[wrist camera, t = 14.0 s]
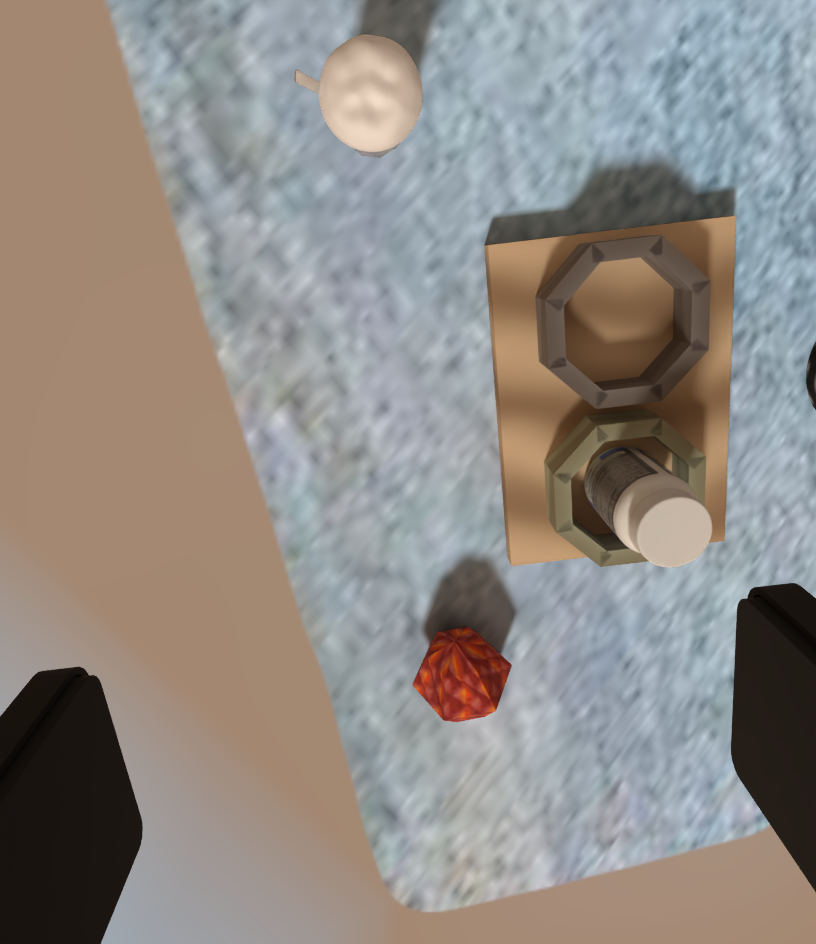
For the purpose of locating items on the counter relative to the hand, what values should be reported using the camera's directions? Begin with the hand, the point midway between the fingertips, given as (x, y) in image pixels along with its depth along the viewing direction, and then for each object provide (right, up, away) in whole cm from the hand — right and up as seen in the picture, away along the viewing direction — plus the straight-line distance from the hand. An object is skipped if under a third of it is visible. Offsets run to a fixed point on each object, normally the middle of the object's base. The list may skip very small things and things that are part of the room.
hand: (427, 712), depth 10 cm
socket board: (+12, +8, +33) cm, 36 cm away
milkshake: (-3, +23, +28) cm, 36 cm away
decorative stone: (+3, -9, +38) cm, 40 cm away
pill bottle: (+13, +3, +33) cm, 36 cm away
